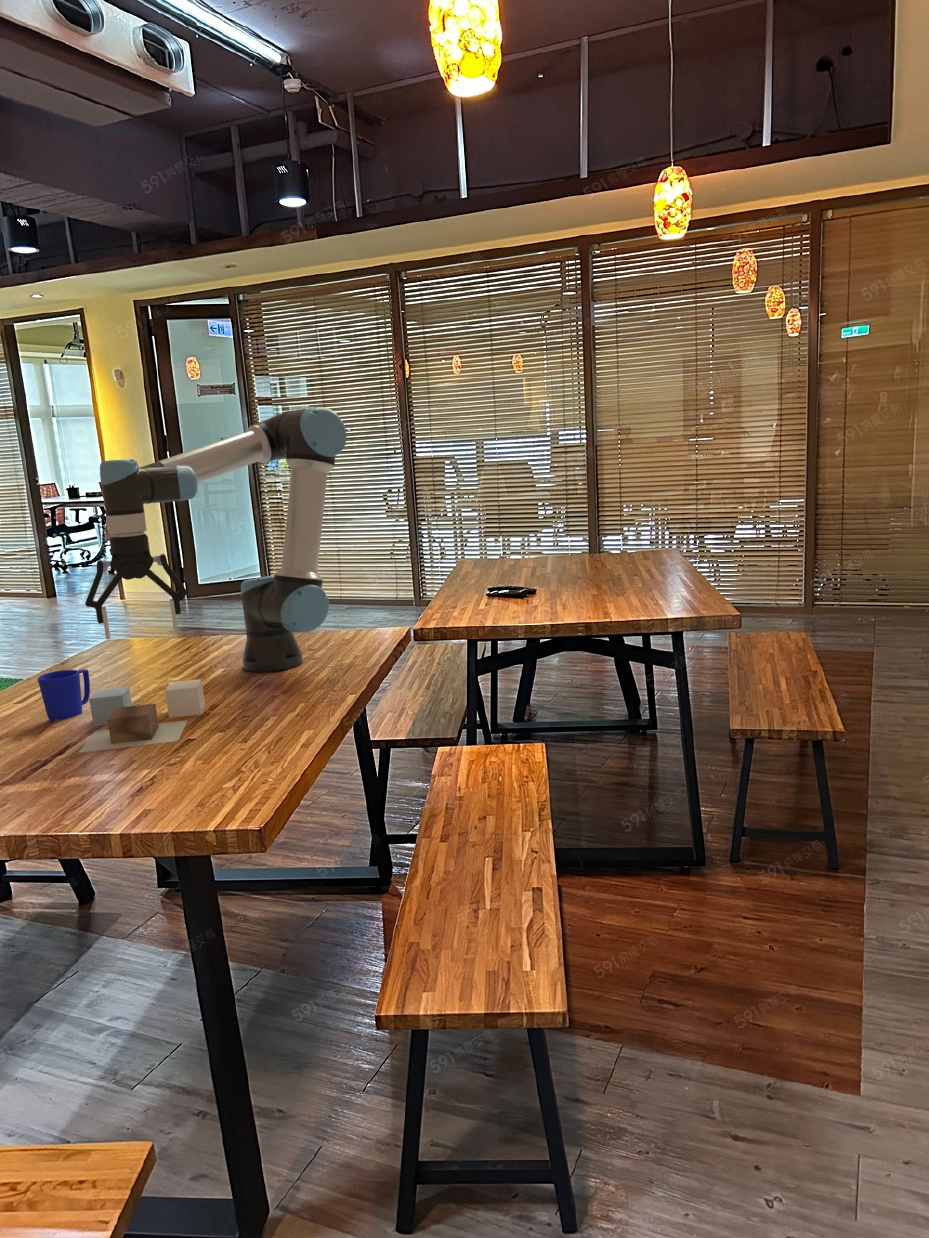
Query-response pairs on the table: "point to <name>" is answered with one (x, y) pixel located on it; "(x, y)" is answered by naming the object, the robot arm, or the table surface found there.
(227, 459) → the robot arm
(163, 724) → the plate
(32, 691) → the table surface
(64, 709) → the mug
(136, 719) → the base brick
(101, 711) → the brick
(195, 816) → the table surface
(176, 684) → the brick
